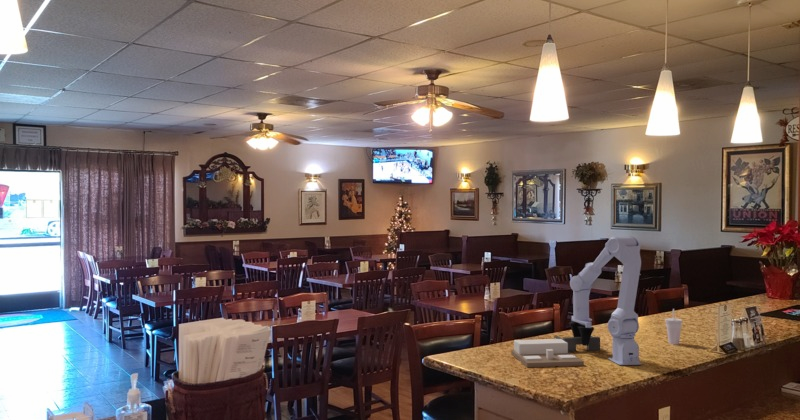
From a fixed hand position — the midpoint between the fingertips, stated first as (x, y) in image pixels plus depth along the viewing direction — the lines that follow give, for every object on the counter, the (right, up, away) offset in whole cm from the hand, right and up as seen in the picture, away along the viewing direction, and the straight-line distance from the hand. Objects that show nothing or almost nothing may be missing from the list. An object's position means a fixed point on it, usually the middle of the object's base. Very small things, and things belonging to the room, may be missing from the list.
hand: (581, 343), depth 230 cm
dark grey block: (0, -3, +4) cm, 5 cm away
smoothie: (+40, -3, +11) cm, 42 cm away
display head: (-17, -3, -14) cm, 22 cm away
